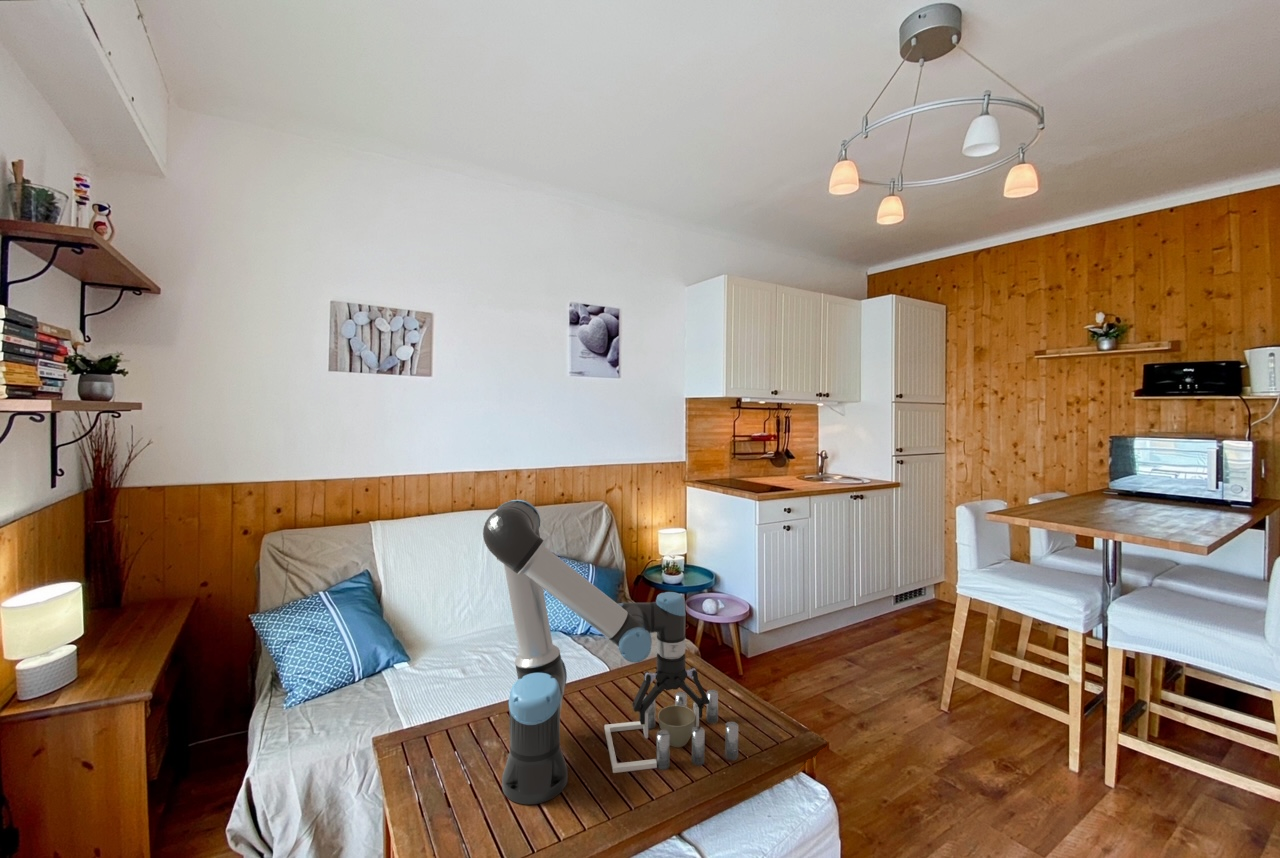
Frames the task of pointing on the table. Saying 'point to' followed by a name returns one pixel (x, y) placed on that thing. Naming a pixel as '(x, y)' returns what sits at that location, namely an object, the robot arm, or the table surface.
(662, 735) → the spacers
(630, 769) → the frame
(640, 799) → the table surface
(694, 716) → the flower pot
